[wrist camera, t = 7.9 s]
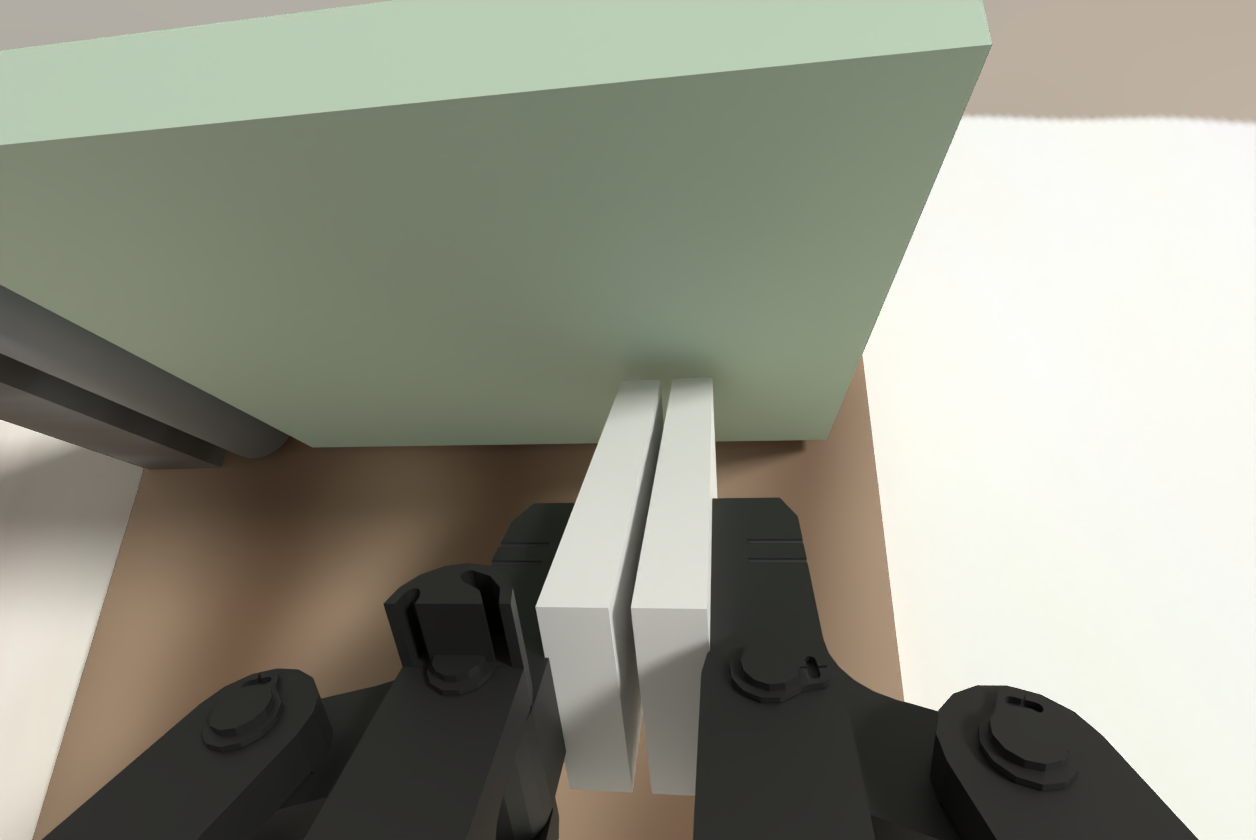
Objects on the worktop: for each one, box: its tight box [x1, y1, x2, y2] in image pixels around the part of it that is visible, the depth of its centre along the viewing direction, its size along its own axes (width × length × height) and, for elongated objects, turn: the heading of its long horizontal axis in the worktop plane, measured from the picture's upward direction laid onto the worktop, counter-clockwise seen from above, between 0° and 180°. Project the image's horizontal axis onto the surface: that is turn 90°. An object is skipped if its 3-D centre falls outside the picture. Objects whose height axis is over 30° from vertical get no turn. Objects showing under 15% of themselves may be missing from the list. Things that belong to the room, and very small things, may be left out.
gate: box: [0, 0, 992, 458], centre depth 12 cm, size 17×2×11 cm, turn 88°
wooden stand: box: [0, 353, 904, 840], centre depth 11 cm, size 21×18×13 cm
